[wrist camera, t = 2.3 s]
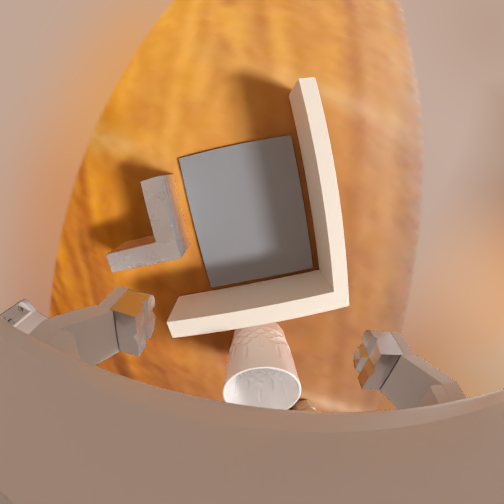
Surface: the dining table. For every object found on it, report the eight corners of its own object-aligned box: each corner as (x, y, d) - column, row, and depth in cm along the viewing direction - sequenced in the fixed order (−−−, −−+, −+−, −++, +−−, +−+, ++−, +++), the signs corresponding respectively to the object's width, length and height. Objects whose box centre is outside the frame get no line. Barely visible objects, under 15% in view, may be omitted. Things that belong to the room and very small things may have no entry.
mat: (211, 286, 32) (211, 287, 31) (179, 158, 27) (178, 158, 27) (312, 267, 31) (313, 267, 31) (290, 135, 27) (290, 134, 26)
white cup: (235, 307, 32) (230, 360, 23) (296, 319, 33) (312, 372, 24) (223, 355, 35) (217, 411, 25) (278, 365, 35) (287, 419, 26)
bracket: (190, 243, 30) (180, 258, 25) (129, 257, 30) (112, 272, 26) (173, 174, 28) (159, 175, 23) (112, 193, 28) (90, 198, 23)
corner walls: (183, 310, 32) (172, 337, 27) (136, 131, 26) (112, 125, 20) (332, 282, 32) (349, 305, 26) (301, 94, 25) (315, 77, 19)
